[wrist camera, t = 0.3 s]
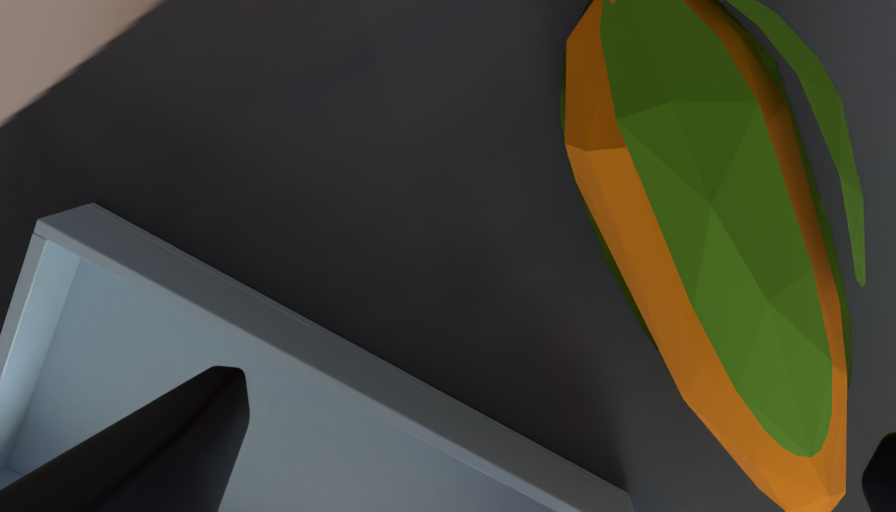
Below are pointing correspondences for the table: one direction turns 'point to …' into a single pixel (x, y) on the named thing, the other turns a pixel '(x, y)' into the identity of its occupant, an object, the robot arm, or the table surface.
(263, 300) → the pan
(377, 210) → the table surface
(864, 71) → the table surface
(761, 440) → the corn
